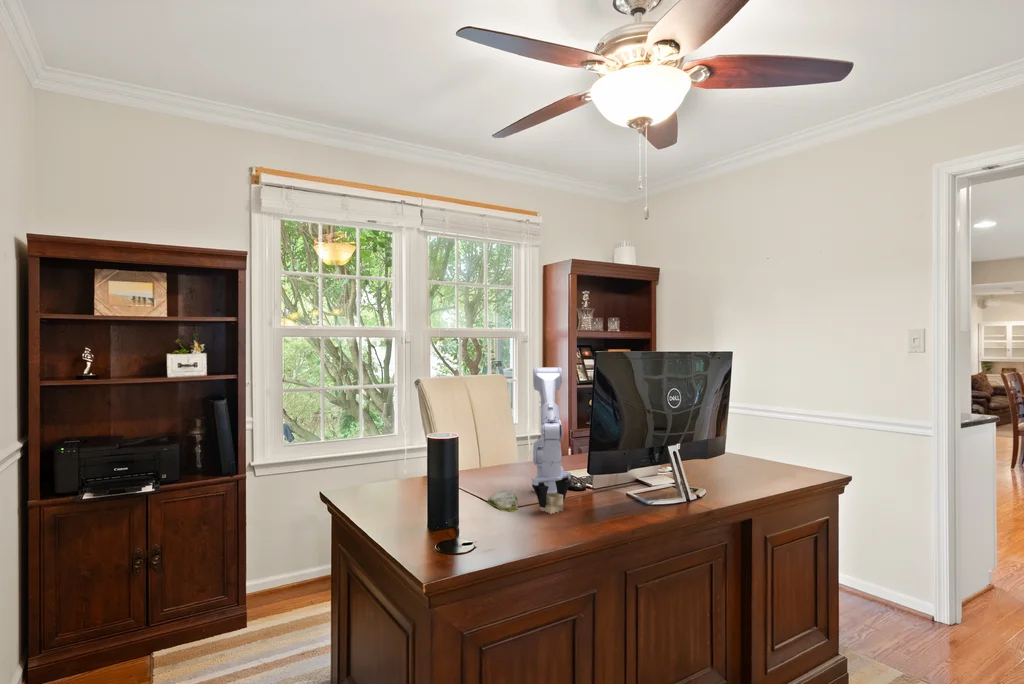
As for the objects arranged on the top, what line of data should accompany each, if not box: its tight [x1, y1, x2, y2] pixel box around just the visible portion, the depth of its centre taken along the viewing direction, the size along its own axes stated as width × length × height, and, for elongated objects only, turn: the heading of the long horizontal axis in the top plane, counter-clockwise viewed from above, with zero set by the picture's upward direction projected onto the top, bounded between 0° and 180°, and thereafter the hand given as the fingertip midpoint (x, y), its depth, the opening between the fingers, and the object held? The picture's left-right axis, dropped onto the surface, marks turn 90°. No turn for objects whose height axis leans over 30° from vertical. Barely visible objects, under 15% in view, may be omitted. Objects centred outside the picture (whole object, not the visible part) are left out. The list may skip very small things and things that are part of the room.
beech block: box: [540, 492, 564, 515], centre depth 176 cm, size 5×5×5 cm
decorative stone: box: [486, 489, 520, 513], centre depth 186 cm, size 23×10×4 cm, turn 6°
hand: (551, 504), depth 175 cm, fingers open, 7 cm apart
